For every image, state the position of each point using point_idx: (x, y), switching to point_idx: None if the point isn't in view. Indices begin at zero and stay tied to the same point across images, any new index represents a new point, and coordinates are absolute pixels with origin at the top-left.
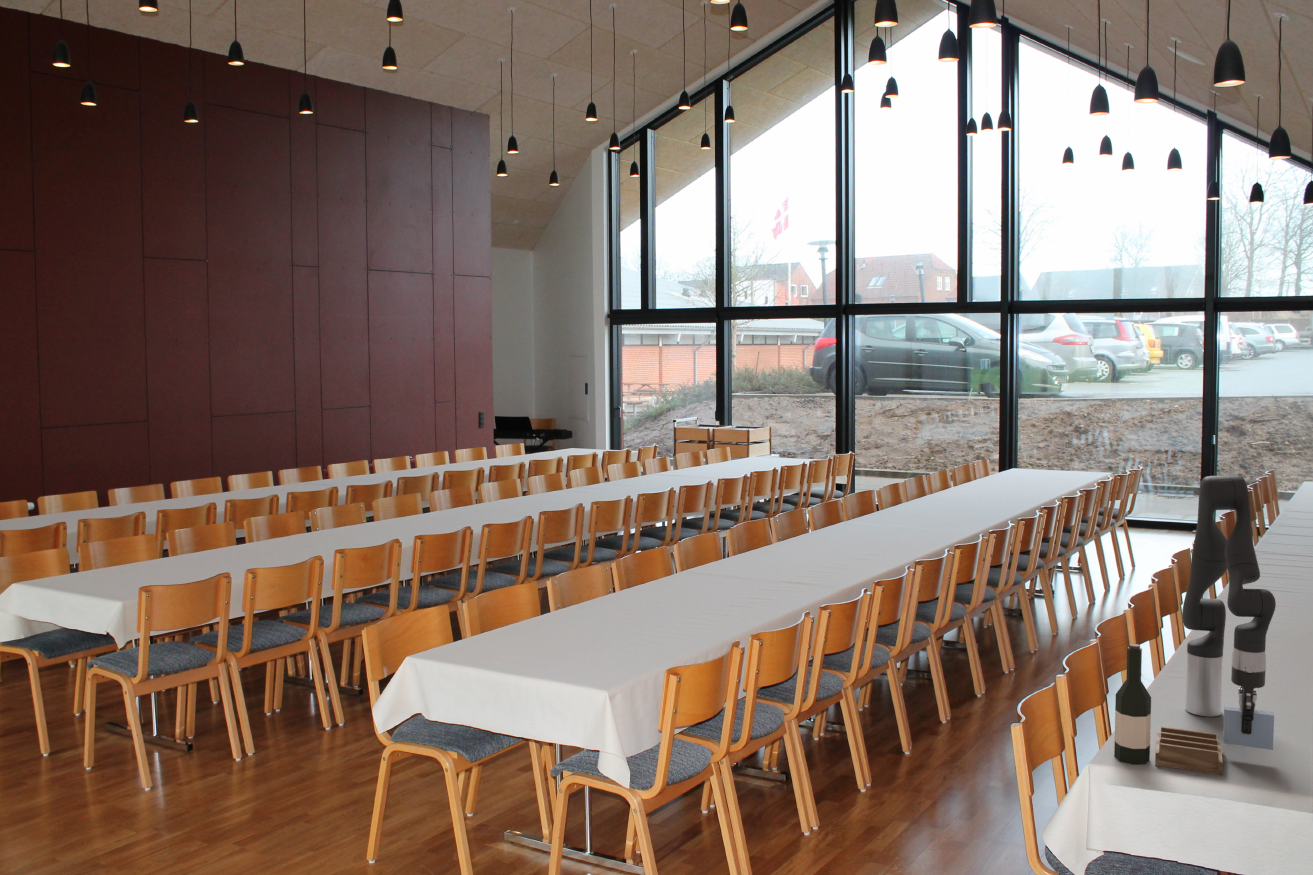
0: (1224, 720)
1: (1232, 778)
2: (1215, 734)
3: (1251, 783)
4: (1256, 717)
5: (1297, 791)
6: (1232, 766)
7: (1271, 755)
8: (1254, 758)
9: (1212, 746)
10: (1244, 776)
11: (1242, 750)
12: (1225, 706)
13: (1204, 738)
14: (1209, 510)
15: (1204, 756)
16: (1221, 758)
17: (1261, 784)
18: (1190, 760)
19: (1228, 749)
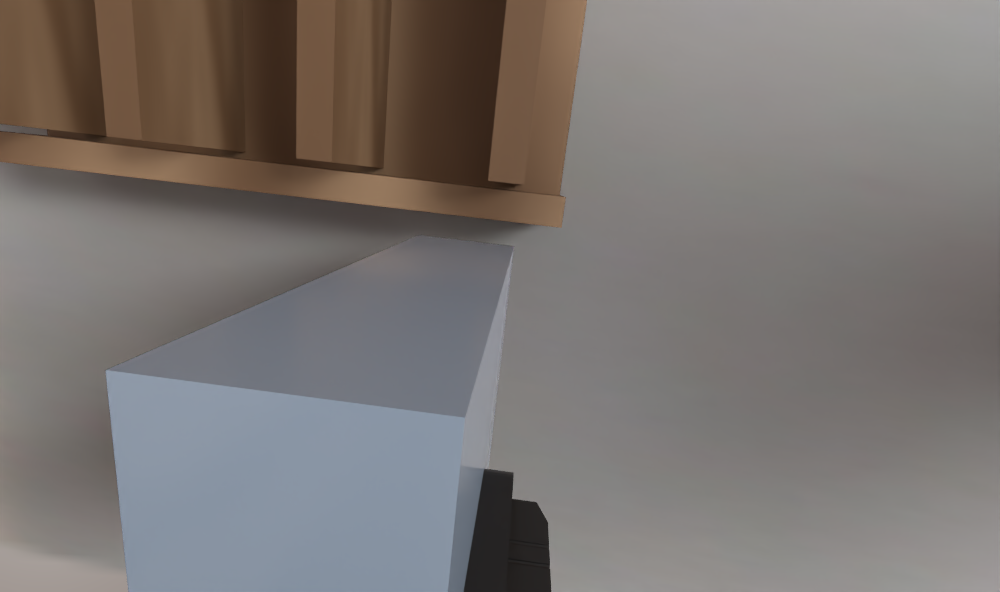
0: (304, 286)
1: (56, 223)
2: (501, 170)
3: (32, 326)
4: None
5: (46, 536)
6: (287, 259)
7: (587, 525)
8: (498, 422)
9: (111, 83)
10: (133, 305)
11: (635, 376)
12: (454, 451)
13: (308, 16)
14: None
15: None
16: (74, 164)
17: (48, 379)
18: None
19: (631, 287)
